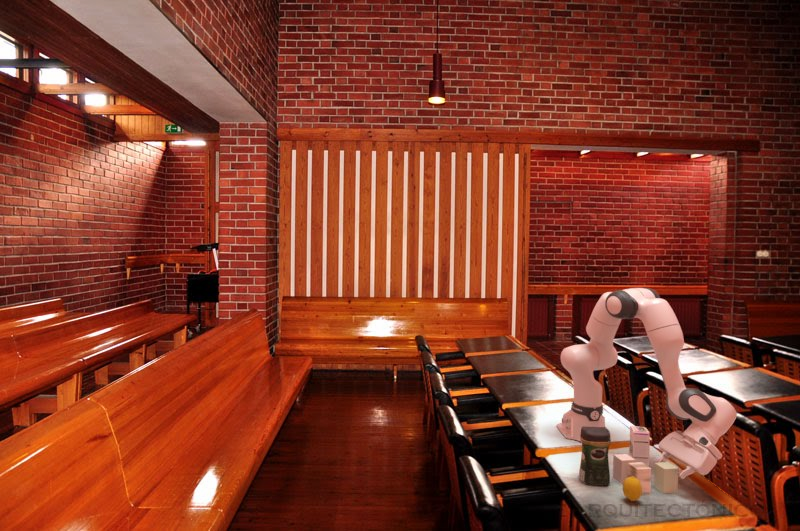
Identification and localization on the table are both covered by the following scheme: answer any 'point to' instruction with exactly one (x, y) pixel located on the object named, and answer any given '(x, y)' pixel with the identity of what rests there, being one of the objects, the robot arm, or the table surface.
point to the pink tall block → (641, 475)
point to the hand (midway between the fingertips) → (669, 470)
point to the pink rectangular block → (621, 467)
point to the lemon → (632, 488)
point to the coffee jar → (595, 455)
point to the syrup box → (639, 444)
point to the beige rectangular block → (666, 477)
